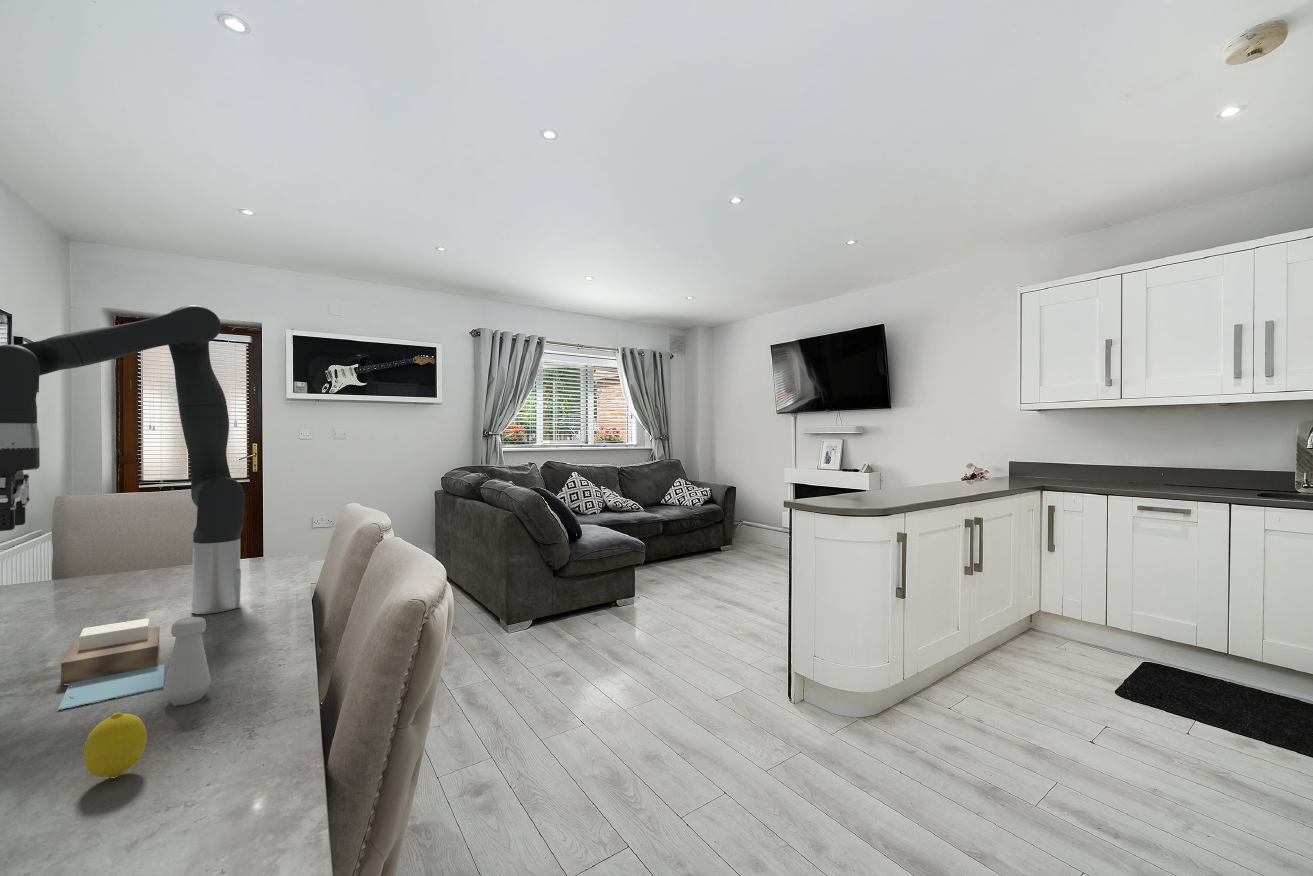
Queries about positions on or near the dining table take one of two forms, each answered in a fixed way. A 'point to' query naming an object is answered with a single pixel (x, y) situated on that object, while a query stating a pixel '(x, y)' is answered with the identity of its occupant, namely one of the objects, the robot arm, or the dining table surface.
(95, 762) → the lemon
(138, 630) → the white bevelled block
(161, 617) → the dining table surface
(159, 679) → the mat
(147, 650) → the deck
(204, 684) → the salt shaker
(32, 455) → the robot arm
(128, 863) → the dining table surface
